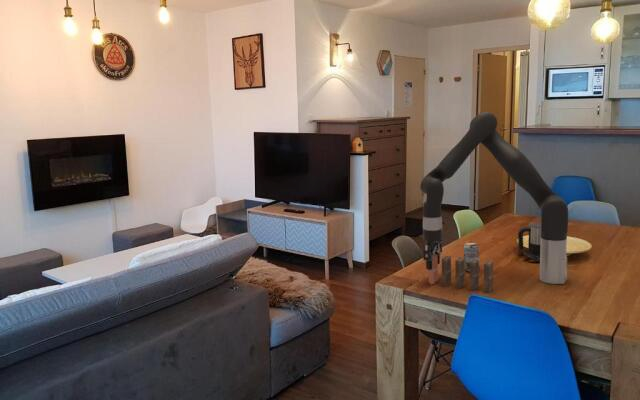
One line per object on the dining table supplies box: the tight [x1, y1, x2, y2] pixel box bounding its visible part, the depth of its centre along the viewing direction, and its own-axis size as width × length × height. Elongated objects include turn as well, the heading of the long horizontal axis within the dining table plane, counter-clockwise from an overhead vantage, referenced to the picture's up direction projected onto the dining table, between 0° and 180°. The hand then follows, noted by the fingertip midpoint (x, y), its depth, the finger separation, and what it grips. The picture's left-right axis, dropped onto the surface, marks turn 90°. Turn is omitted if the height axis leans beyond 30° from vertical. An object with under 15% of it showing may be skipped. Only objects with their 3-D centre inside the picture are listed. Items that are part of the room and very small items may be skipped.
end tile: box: [428, 254, 439, 285], centre depth 205 cm, size 2×5×11 cm, turn 147°
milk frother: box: [517, 222, 541, 263], centre depth 229 cm, size 14×16×15 cm
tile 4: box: [441, 255, 452, 287], centre depth 202 cm, size 2×5×11 cm, turn 146°
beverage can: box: [463, 242, 480, 272], centre depth 217 cm, size 6×7×12 cm
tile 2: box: [469, 258, 480, 292], centre depth 196 cm, size 2×5×11 cm, turn 146°
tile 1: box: [483, 260, 494, 294], centre depth 193 cm, size 2×5×11 cm, turn 146°
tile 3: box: [454, 256, 466, 289], centre depth 199 cm, size 2×5×11 cm, turn 146°
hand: (433, 266), depth 204 cm, fingers open, 8 cm apart
